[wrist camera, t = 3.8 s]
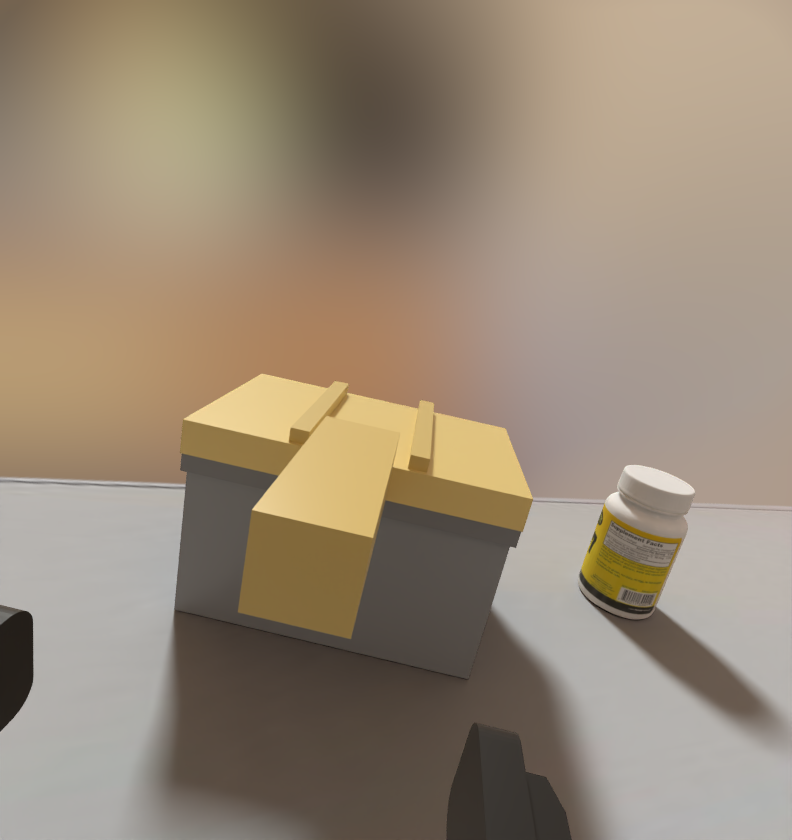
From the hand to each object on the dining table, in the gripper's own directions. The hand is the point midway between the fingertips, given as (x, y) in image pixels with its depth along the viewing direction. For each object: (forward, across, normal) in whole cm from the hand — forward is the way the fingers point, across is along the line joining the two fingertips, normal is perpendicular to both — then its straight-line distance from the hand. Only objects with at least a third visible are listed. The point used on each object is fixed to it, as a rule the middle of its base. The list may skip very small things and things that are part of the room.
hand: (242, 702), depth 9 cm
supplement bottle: (+22, -17, +10) cm, 30 cm away
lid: (+13, 0, +1) cm, 13 cm away
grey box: (+17, 0, +10) cm, 19 cm away
